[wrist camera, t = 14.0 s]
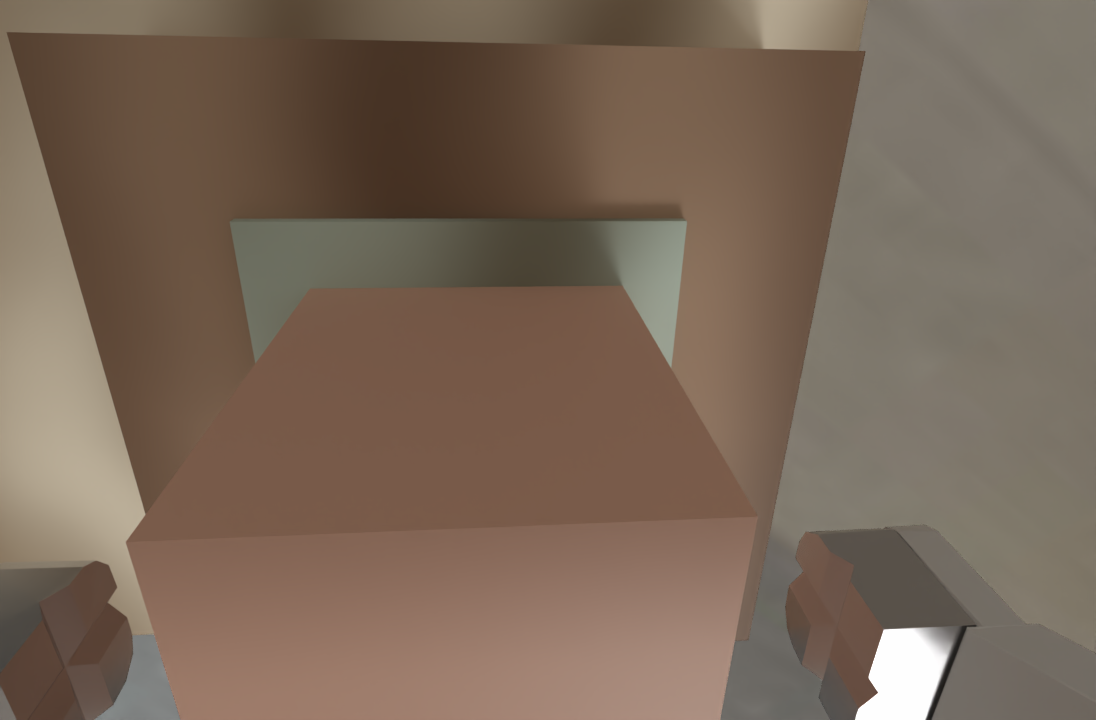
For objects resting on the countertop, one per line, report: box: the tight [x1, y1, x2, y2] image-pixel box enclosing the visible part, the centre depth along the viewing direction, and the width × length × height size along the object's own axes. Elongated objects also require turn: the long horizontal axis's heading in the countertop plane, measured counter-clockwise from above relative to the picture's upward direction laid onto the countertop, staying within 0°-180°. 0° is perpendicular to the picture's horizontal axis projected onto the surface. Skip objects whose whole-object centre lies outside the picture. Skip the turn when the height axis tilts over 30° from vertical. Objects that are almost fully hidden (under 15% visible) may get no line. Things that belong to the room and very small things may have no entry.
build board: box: [0, 0, 868, 641], centre depth 14 cm, size 24×18×6 cm
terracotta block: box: [126, 286, 758, 720], centre depth 9 cm, size 5×5×6 cm
